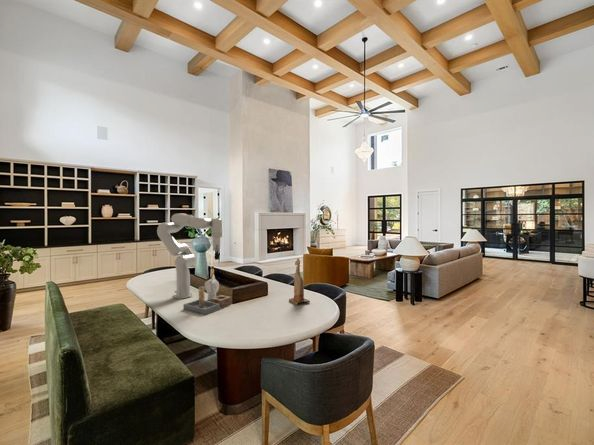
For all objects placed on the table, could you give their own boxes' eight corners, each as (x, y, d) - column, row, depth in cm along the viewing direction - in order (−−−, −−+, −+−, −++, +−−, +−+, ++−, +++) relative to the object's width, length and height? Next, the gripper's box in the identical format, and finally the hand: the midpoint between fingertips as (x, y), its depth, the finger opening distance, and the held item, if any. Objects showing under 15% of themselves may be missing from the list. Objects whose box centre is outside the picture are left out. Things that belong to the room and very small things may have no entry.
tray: (183, 309, 191) (183, 304, 191) (199, 304, 203) (199, 299, 202) (204, 315, 181) (204, 309, 181) (220, 309, 192) (219, 303, 192)
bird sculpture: (301, 299, 214) (300, 256, 214) (310, 303, 204) (309, 257, 204) (288, 302, 208) (287, 257, 208) (297, 306, 198) (295, 259, 198)
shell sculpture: (211, 302, 207) (210, 277, 206) (204, 300, 212) (203, 275, 211) (220, 299, 214) (220, 275, 213) (213, 297, 219) (213, 273, 218)
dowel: (198, 309, 190) (198, 287, 189) (199, 307, 193) (198, 286, 193) (204, 308, 191) (204, 287, 190) (204, 307, 194) (204, 286, 194)
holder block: (210, 305, 200) (210, 298, 199) (221, 301, 208) (221, 294, 208) (221, 308, 194) (221, 300, 194) (231, 304, 203) (231, 296, 203)
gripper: (212, 234, 220) (212, 257, 221) (210, 236, 204) (211, 260, 204) (222, 234, 222) (222, 256, 223) (222, 236, 205) (222, 260, 206)
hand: (217, 258), depth 213 cm, fingers open, 9 cm apart
